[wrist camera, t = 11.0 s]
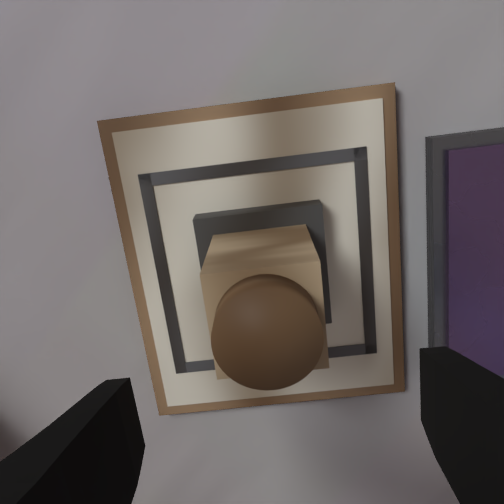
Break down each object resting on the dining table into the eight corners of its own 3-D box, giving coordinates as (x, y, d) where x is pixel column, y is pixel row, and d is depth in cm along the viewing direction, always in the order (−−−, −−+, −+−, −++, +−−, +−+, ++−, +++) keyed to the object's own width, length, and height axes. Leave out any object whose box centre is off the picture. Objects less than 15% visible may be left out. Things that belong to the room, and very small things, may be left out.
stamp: (318, 199, 19) (350, 247, 13) (328, 312, 20) (360, 408, 14) (195, 213, 19) (164, 269, 13) (213, 325, 21) (194, 424, 14)
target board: (390, 82, 18) (396, 82, 18) (400, 384, 22) (405, 393, 21) (101, 120, 19) (95, 121, 18) (162, 407, 23) (158, 417, 22)
